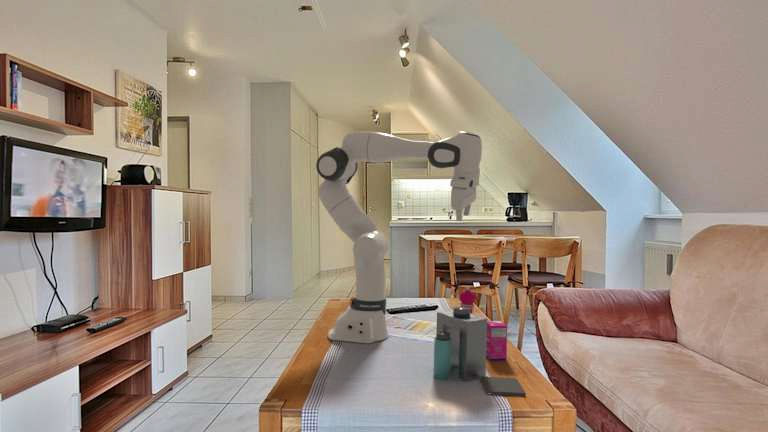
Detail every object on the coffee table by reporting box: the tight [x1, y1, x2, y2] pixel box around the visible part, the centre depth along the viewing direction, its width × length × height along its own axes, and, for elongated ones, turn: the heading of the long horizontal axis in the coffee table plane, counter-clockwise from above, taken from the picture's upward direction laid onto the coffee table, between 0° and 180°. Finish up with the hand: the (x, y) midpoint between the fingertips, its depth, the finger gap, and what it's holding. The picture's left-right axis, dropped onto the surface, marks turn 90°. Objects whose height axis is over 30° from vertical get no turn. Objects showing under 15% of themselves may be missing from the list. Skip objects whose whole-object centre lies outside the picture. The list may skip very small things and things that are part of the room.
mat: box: [480, 376, 526, 397], centre depth 121 cm, size 10×10×1 cm
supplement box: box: [486, 320, 508, 361], centre depth 145 cm, size 6×6×12 cm
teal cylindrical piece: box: [433, 332, 452, 381], centre depth 127 cm, size 5×5×12 cm
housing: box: [436, 306, 488, 382], centre depth 131 cm, size 8×13×19 cm, turn 34°
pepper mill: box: [458, 285, 477, 314], centre depth 163 cm, size 7×7×20 cm
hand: (462, 217), depth 156 cm, fingers open, 8 cm apart
